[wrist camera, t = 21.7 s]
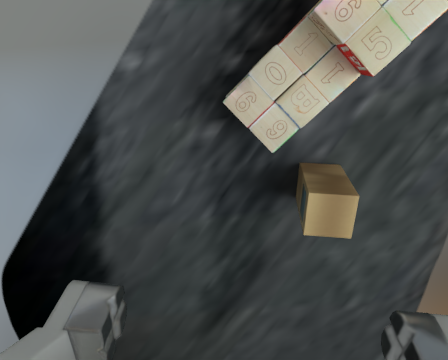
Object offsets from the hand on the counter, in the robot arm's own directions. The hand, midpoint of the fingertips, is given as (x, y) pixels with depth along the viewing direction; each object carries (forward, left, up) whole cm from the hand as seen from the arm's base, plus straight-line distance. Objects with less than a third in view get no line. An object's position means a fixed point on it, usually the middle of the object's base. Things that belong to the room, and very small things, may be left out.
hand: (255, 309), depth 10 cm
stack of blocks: (+6, +8, -29) cm, 31 cm away
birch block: (+7, -7, -29) cm, 31 cm away
